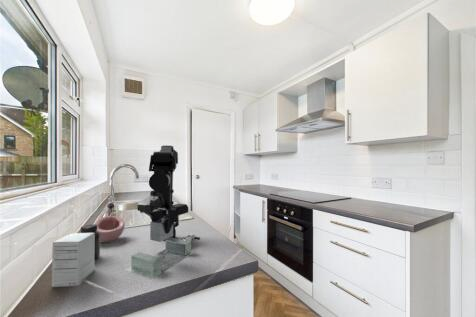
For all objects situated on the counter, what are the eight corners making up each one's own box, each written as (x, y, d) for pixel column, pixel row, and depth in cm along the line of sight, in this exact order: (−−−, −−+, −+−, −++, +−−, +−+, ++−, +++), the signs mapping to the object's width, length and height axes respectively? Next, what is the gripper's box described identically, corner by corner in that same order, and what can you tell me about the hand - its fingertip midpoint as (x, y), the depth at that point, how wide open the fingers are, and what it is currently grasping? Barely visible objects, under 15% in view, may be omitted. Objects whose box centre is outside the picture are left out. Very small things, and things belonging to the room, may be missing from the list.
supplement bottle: (104, 256, 74) (105, 224, 74) (85, 265, 67) (85, 229, 68) (91, 254, 76) (92, 222, 76) (71, 262, 70) (72, 227, 70)
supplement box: (70, 273, 63) (71, 232, 63) (95, 272, 63) (95, 232, 64) (50, 287, 55) (51, 241, 56) (78, 286, 56) (79, 240, 56)
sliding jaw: (164, 250, 77) (164, 240, 77) (185, 240, 87) (185, 230, 88) (185, 255, 73) (185, 244, 73) (204, 244, 83) (204, 234, 83)
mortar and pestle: (94, 249, 81) (94, 220, 81) (91, 240, 90) (91, 215, 90) (127, 241, 89) (127, 215, 89) (121, 234, 98) (121, 210, 98)
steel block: (150, 239, 68) (150, 221, 68) (163, 234, 73) (163, 217, 73) (159, 241, 66) (160, 223, 66) (173, 236, 71) (173, 219, 71)
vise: (124, 272, 63) (124, 257, 63) (171, 248, 81) (171, 236, 81) (151, 281, 58) (151, 265, 58) (194, 254, 76) (194, 241, 76)
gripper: (123, 188, 67) (122, 235, 66) (164, 192, 59) (164, 245, 58) (150, 185, 77) (150, 226, 76) (189, 187, 69) (189, 233, 68)
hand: (162, 232), depth 70 cm, fingers closed on steel block, 4 cm apart
